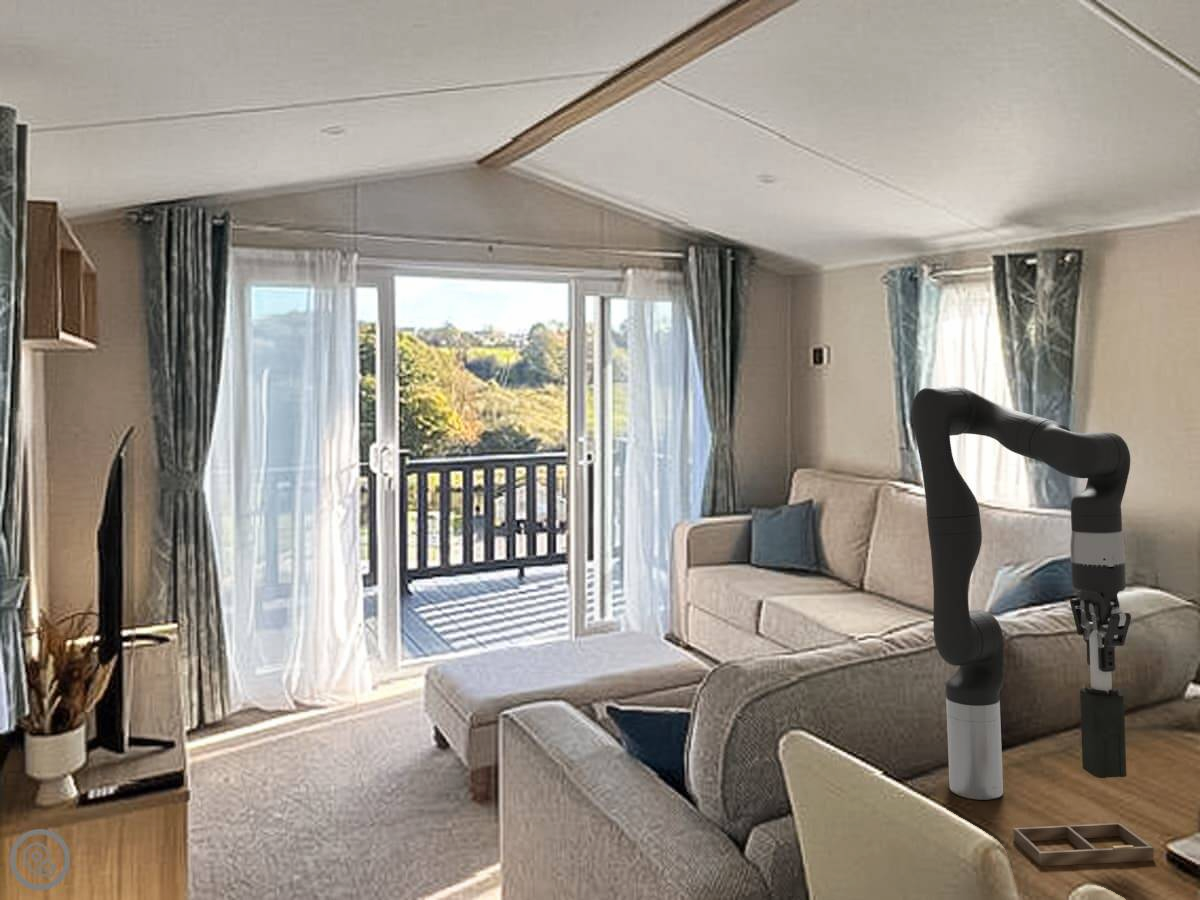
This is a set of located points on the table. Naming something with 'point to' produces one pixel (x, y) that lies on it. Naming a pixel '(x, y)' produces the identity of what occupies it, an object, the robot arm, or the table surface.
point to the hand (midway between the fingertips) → (1101, 667)
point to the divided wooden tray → (1083, 844)
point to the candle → (1102, 721)
